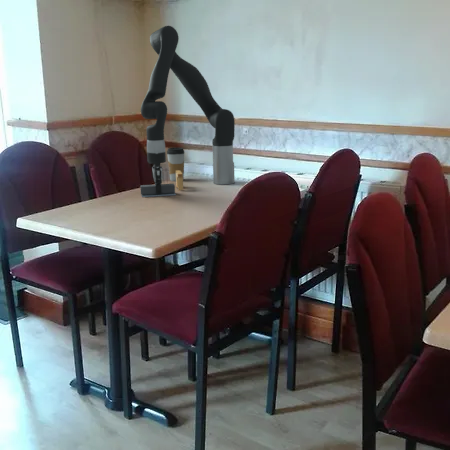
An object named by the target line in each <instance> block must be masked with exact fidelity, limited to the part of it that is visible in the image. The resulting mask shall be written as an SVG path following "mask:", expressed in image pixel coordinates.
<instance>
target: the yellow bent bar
mask: <svg viewBox="0 0 450 450" xmlns="http://www.w3.org/2000/svg"><path fill="white" fill-rule="evenodd" d="M175 183H176V184H175V185H176V186H175V187H176V188H178V189H177V190H178V191H184V179H183V174H182V172H181V171H180V170H178V171H176V181H175Z"/></svg>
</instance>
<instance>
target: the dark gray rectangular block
mask: <svg viewBox="0 0 450 450" xmlns="http://www.w3.org/2000/svg"><path fill="white" fill-rule="evenodd" d="M175 185H176V184H175V183H161V193H175V194H176V186H175ZM139 188H140V195H141V196H142V195H144V194H161V193H156V185H155V184H143V185H140V187H139Z"/></svg>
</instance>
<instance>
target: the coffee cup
mask: <svg viewBox="0 0 450 450" xmlns="http://www.w3.org/2000/svg"><path fill="white" fill-rule="evenodd" d="M166 155H167V156H166V157H167V165H168V166H167V167H168V173H169V179H170V182H176V171H178V170H180V171H181V172H182V174H183V180H184V178H185V177H184V176H185V175H184V174H185V150H184V147H169V148H167V151H166Z"/></svg>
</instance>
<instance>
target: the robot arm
mask: <svg viewBox="0 0 450 450" xmlns="http://www.w3.org/2000/svg"><path fill="white" fill-rule="evenodd" d="M179 38H180V37H179V33H178V31H177V29H175V27H174V26H172V25H165V26H162V27H160V28H158V29H157V30H155V31H154V32H152V33H151V34H150V36H149V42H150V45H151V47H152V49H153V51H154V52H155V53H156V54H157V55H158V57H157V60H156V63H155V65H154V67H153V69H152V71H151V75H150V76H149V77H150V78H149V83H148V84H149V85H148V88H147V89H148V90H147V92H146V95H145V96H144V99H143V100H142V103H141V107H140V114H141V116H142V118H143V119H146V120H156V121H155V122H154V124H150V125H148V126H146V129H145V130H146V155H147V157H146V158H147V159H146V160H147V163H148V164H153V166H152V167H151V170H152V177H153V181H154V185H156V193H161V184H163V180H162V178H163V166H161V164H163V163H165V162H166V161H167V156H166V155H167V152H166V143H165V142H166V141H165V124H166V119H167V115H168V107H167V106H168V105H167V104H166V103H165V102H164V101H162V100H161V101H160V99H163V98H164V97H165V96H166V92H167V86H168V79H169V75H170V74H169V73H170V70H171V71H172V72H173V75H175V76H176V77H177V79H178V80H179V81H180V83H181V84H182V86H183V88H184V89H185V90H186V92H188V94H189V95H190V97H192V99H193V100H194V101H195V102H196V104H197V105H198V106H199V108H200V109H201V110H202V112H203V113H204V115H205V117H206V119H207V121H208V123H209V124H210V126H211V127H212V128H214V137H213V138H212V141H211V142H212V143H211V145H212V147H211V148H212V173H213V174H212V175H213V176H212V177H213V178H212V179H213V184H216V185H230V184H235V162H234V140H235V121H236V120H235V116H234V114H233V112H232V111H231V110H229V109H225V108H222V107H221V106H220V105H219V104H218V102H217V101H216V100H215V98H214V96H213V95H212V93H211V89H210V87H209V85H208V82H207V80H206V79H205V77H204V76H203V74H202V73H201V72H200V70H199V69H198V68H197V67H196V66H195V65H194V64H192V63H190V62H188V61H186V59H183V58H182V57H181V56H180V55H179V54H178V53H177V52H176V50H177V48H178V44H179Z"/></svg>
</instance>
